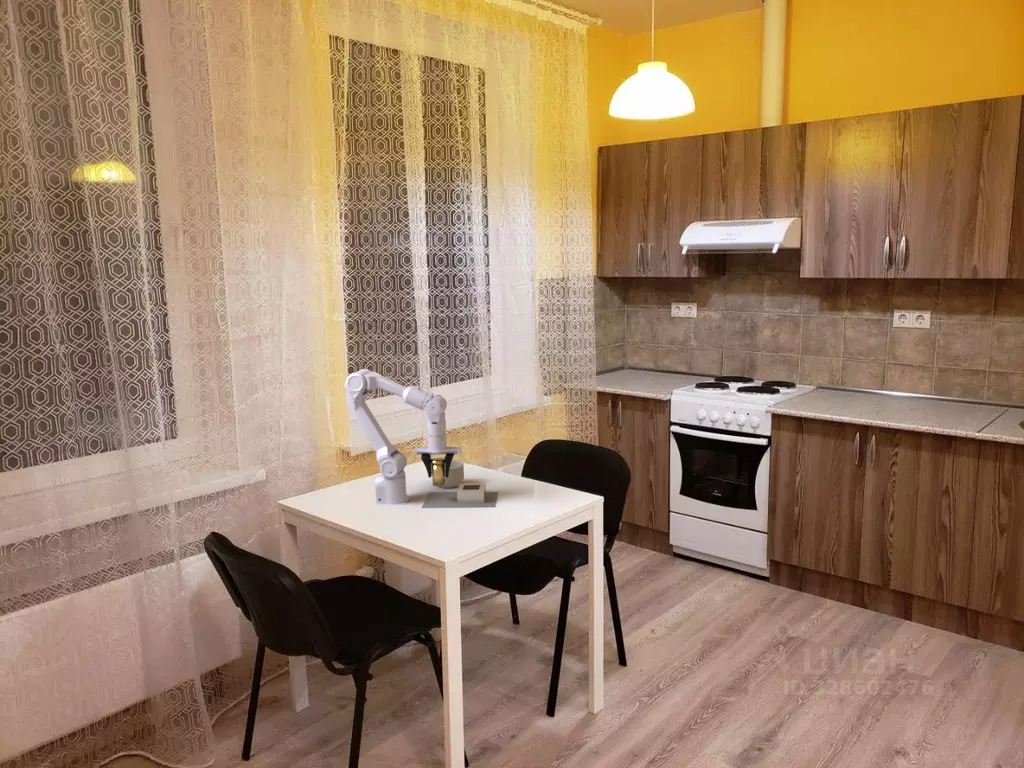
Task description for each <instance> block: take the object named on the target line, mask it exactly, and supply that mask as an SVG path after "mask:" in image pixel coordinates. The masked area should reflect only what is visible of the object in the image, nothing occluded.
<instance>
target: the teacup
mask: <svg viewBox="0 0 1024 768" xmlns="http://www.w3.org/2000/svg"><path fill="white" fill-rule="evenodd" d="M464 466H465V465H464V462H463V461H461V460H458V459H457V460H456V459H452V462H451V465H450V468H449V476H448V477H446V476H445V485H443V486H438V488H442V489H453V488H458V487H459V484H463V483H464V479H465V472H464V471H465V470H464V469H465V467H464ZM431 471H432V464H431ZM445 472H446V466H445Z"/></svg>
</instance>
